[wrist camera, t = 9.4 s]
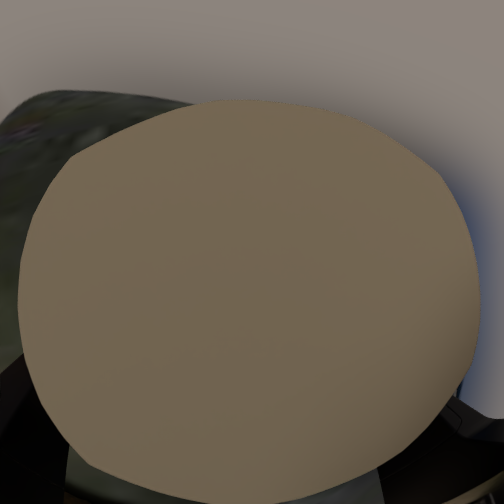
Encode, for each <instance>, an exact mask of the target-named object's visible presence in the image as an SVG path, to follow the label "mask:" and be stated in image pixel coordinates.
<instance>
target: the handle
mask: <svg viewBox="0 0 504 504" xmlns="http://www.w3.org/2000/svg"><path fill="white" fill-rule="evenodd" d="M18 316H19V325H20V333H21V339H22V346H23V351H24V357H25V361H26V364H27V367H28V370H29V373H30V376H31V379H32V381H33V384H34V387H35V389H36V392H37V394H38V397H39V399H40V402H41V404H42V405H43V407H44V409H45V410H46V412H47V414H48V415H49V417H50V418H51V420H52V421H53V423H54V424H55V426H56V427H57V429H58V430H59V432H60V433H61V434H62V436H63V437H64V438H65V439H66V441H67V442H68V443H69V444H70V445H71V446H72V447H73V448H74V449H75V450H76V452H77V453H78V454H79V455H80V456H81V457H82V458H83V459H84V460H85V461H86V462H87V463H88V464H89V465H91V466H93V467H95V468H98V469H100V470H102V471H104V472H106V473H109V474H111V475H113V476H116V477H118V478H121V479H123V480H126V481H128V482H131V483H134V484H136V485H139V486H142V487H145V488H148V489H151V490H154V491H157V492H160V493H164V494H168V495H172V496H176V497H180V498H184V499H188V500H193V501H198V502H203V503H209V504H275V503H280V502H285V501H290V500H295V499H299V498H303V497H306V496H309V495H312V494H315V493H318V492H321V491H324V490H326V489H329V488H332V487H334V486H337V485H339V484H342V483H344V482H347V481H349V480H351V479H354V478H356V477H358V476H360V475H363V474H365V473H367V472H369V471H371V470H373V469H375V468H377V467H378V466H380V465H382V464H383V463H385V462H386V461H388V460H390V459H391V458H393V457H394V456H396V455H397V454H399V453H400V452H402V451H403V450H404V449H405V448H406V447H408V446H409V445H410V444H411V443H412V442H413V441H414V440H415V439H416V438H417V437H418V436H419V435H420V434H421V433H422V432H423V431H424V430H425V429H426V428H427V427H428V426H429V425H430V423H431V422H432V421H433V420H434V418H435V417H436V416H437V415H438V413H439V412H440V411H441V410H442V408H443V407H444V406H445V404H446V403H447V402H448V400H449V399H450V397H451V396H452V395H453V393H454V392H455V390H456V389H457V387H458V386H459V384H460V383H461V381H462V379H463V378H464V376H465V375H466V373H467V371H468V370H469V368H470V366H471V364H472V360H473V356H474V353H475V348H476V344H477V339H478V332H479V325H480V286H479V277H478V269H477V262H476V258H475V254H474V249H473V245H472V241H471V237H470V234H469V231H468V229H467V226H466V223H465V220H464V218H463V215H462V212H461V210H460V208H459V206H458V204H457V203H456V201H455V199H454V197H453V195H452V193H451V192H450V190H449V188H448V187H447V185H446V184H445V182H444V181H443V179H442V178H441V176H440V175H439V174H438V173H437V172H436V171H435V170H434V169H432V168H431V167H430V166H428V165H427V164H426V163H425V162H424V161H422V160H421V159H420V158H418V157H417V156H415V155H414V154H413V153H412V152H410V151H409V150H408V149H406V148H405V147H403V146H402V145H400V144H399V143H397V142H396V141H394V140H393V139H391V138H390V137H388V136H386V135H385V134H383V133H382V132H380V131H378V130H377V129H375V128H373V127H370V126H369V125H367V124H365V123H363V122H361V121H359V120H357V119H355V118H352V117H348V116H346V115H342V114H339V113H335V112H331V111H328V110H324V109H319V108H313V107H307V106H300V105H293V104H286V103H277V102H269V101H259V100H218V101H211V102H206V103H201V104H196V105H192V106H187V107H183V108H179V109H176V110H173V111H170V112H167V113H164V114H161V115H159V116H156V117H153V118H151V119H148V120H146V121H143V122H141V123H138V124H136V125H133V126H131V127H129V128H127V129H124V130H122V131H120V132H118V133H116V134H114V135H112V136H110V137H108V138H106V139H104V140H102V141H100V142H98V143H96V144H94V145H92V146H90V147H88V148H86V149H85V150H83V151H81V152H79V153H77V154H76V155H74V156H72V157H71V158H70V159H69V160H68V162H67V163H66V164H65V165H64V167H63V168H62V169H61V171H60V172H59V173H58V174H57V176H56V177H55V179H54V180H53V181H52V183H51V184H50V186H49V187H48V189H47V191H46V193H45V195H44V196H43V198H42V200H41V202H40V204H39V206H38V208H37V210H36V212H35V214H34V216H33V218H32V221H31V224H30V228H29V231H28V235H27V238H26V242H25V246H24V250H23V254H22V258H21V265H20V275H19V290H18Z"/></svg>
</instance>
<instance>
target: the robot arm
mask: <svg viewBox="0 0 504 504" xmlns="http://www.w3.org/2000/svg"><path fill="white" fill-rule="evenodd" d="M69 445H70V444H69V443H68V442H67V441H66V439H65V438H64V437H63V436H62V434H61V433H60V432H59V430H58V429H57V427H56V426H55V424H54V423H53V421H52V420H51V418H50V417H49V415H48V414H47V412H46V410H45V409H44V407H43V405H42V404H41V402H40V399H39V397H38V394H37V392H36V389H35V387H34V384H33V381H32V379H31V376H30V373H29V370H28V367H27V364H26V361H25V357H24V353H23V354H22V355H21V356H20V357H18V358H17V359H16V360H15V361H14V362H13V363H12V364H11V365H9V366H8V367H7V368H6V369H5V370H4V371H3V372H2V373H1V374H0V504H64V487H65V476H66V467H67V459H68V452H69ZM377 470H378V474H379V478H380V483H381V488H382V492H383V497H384V502H385V504H504V419H492V418H488V417H485V416H484V415H482V414H481V413H479V412H478V411H476V410H474V409H473V408H471V407H470V406H468V405H467V404H465V403H464V402H462V401H461V400H459V399H458V398H456V397H455V396H454V395H452V396H451V397H450V399H449V400H448V402H447V403H446V404H445V406H444V407H443V408H442V410H441V411H440V412H439V413H438V415H437V416H436V417H435V418H434V420H433V421H432V422H431V423H430V425H429V426H428V427H427V428H426V429H425V430H424V431H423V432H422V433H421V434H420V435H419V436H418V437H417V438H416V439H415V440H414V441H413V442H412V443H411V444H410V445H409V446H408V447H406V448H405V449H404V450H403V451H402V452H400V453H399V454H397V455H396V456H394V457H393V458H391V459H390V460H388V461H386V462H385V463H383V464H382V465H380V466H378V467H377Z"/></svg>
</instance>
